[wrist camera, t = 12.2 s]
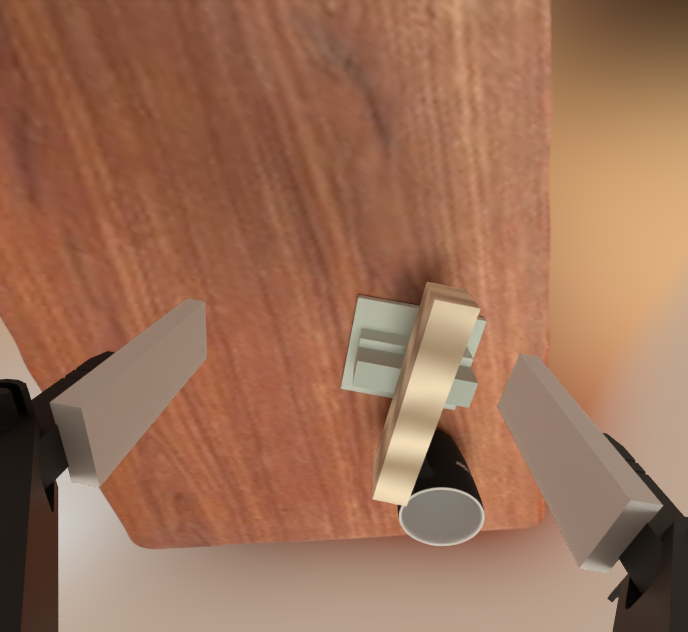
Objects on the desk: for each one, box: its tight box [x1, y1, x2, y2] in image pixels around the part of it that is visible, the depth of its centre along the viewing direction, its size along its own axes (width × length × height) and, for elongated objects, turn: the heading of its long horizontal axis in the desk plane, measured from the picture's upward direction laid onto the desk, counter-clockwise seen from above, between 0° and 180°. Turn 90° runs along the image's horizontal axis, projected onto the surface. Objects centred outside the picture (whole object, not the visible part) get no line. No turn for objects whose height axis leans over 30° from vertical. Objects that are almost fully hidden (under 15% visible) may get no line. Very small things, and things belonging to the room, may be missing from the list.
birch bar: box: [373, 282, 480, 506], centre depth 32 cm, size 22×4×4 cm, turn 170°
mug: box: [398, 430, 485, 546], centre depth 40 cm, size 12×9×10 cm
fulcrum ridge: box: [341, 295, 487, 410], centre depth 37 cm, size 12×14×6 cm
